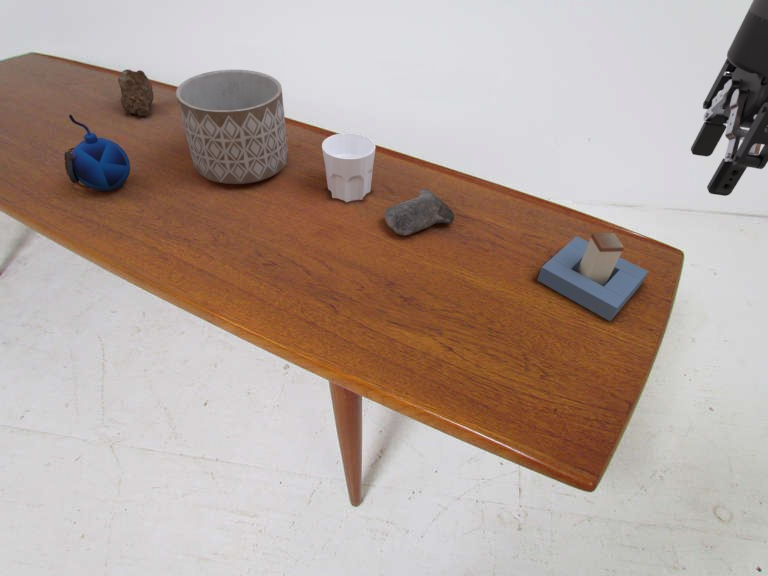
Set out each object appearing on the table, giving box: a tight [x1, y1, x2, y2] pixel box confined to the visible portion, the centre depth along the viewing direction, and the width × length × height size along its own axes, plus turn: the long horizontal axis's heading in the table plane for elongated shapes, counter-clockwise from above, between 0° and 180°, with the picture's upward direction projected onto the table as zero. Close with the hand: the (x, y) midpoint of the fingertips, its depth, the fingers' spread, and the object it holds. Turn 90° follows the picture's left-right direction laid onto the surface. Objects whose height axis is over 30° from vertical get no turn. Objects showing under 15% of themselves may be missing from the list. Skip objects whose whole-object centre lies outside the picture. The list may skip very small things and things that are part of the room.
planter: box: [175, 69, 289, 185], centre depth 100 cm, size 19×19×16 cm
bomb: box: [64, 114, 131, 192], centre depth 92 cm, size 10×11×15 cm
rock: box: [117, 69, 154, 118], centre depth 119 cm, size 10×6×10 cm
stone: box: [384, 188, 455, 237], centre depth 93 cm, size 12×5×10 cm
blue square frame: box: [536, 235, 649, 322], centre depth 83 cm, size 13×12×3 cm
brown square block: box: [576, 232, 625, 286], centre depth 80 cm, size 4×4×9 cm
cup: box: [321, 132, 377, 203], centre depth 97 cm, size 10×10×10 cm
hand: (707, 172), depth 56 cm, fingers open, 8 cm apart
